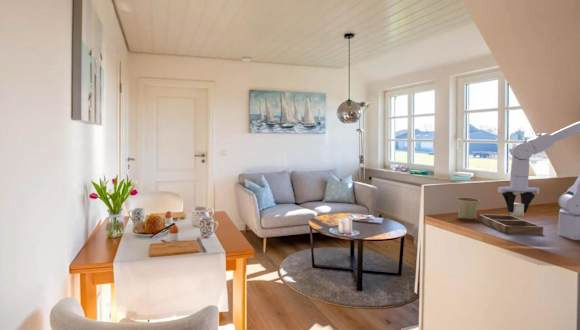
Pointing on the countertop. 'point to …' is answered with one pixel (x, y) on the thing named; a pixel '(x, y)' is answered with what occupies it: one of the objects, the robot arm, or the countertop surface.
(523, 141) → the robot arm
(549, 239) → the countertop surface
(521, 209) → the white rounded egg-shaped piece
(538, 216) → the countertop surface
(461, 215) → the flower pot
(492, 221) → the bin
